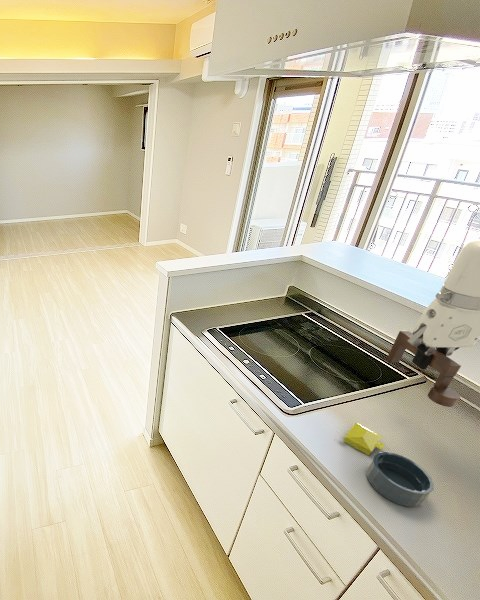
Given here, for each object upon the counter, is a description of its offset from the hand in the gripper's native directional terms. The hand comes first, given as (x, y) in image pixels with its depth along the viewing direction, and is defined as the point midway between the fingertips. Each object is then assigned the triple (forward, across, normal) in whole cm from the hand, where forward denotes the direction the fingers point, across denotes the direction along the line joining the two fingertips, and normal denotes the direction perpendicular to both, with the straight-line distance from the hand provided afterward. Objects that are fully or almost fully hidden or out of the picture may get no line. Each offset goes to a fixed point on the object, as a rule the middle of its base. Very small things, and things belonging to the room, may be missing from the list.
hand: (425, 365), depth 78 cm
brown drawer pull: (+5, 0, 0) cm, 5 cm away
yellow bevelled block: (+19, -12, -7) cm, 24 cm away
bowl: (+19, -13, -18) cm, 30 cm away
